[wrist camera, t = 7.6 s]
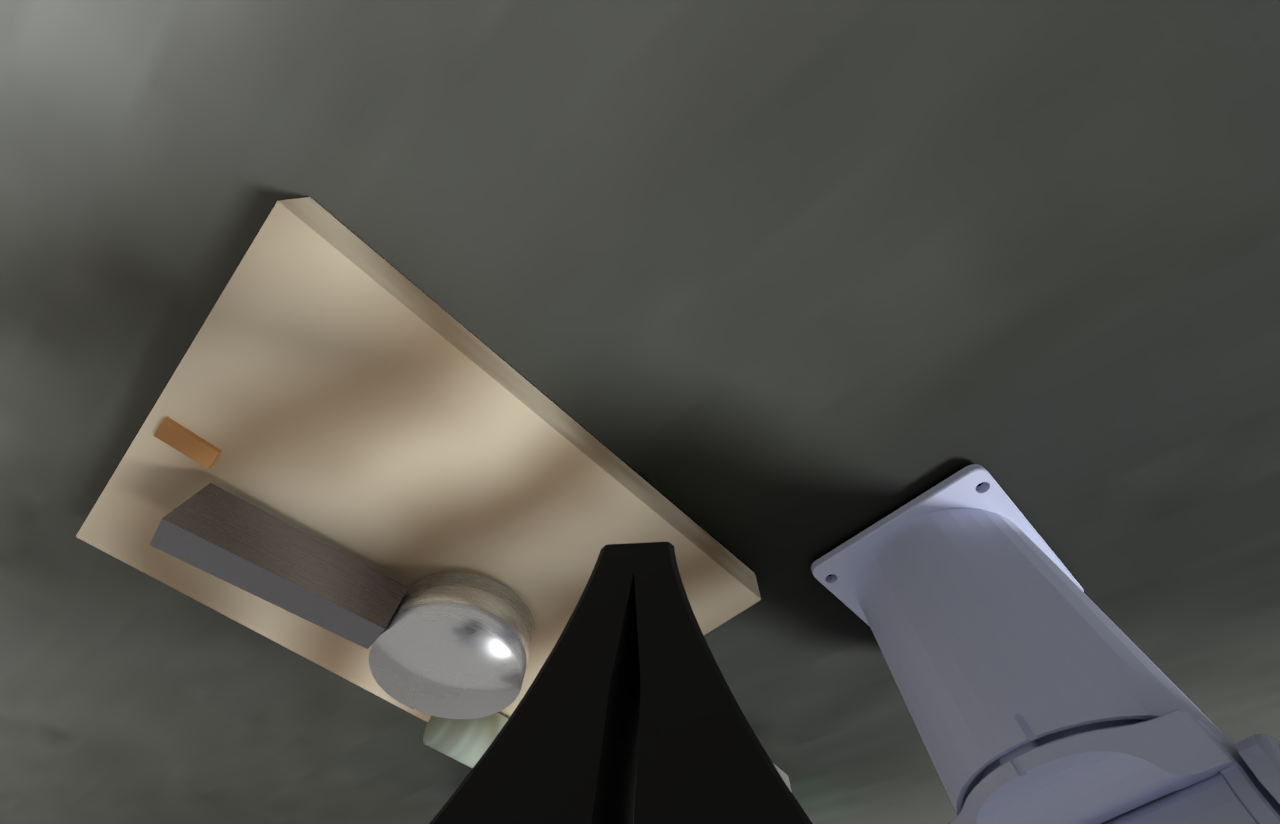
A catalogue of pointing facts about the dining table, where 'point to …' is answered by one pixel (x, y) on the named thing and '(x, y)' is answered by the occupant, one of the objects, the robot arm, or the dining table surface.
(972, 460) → the dining table surface
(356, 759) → the dining table surface
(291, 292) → the oak board
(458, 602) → the grey spoon
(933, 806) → the dining table surface
